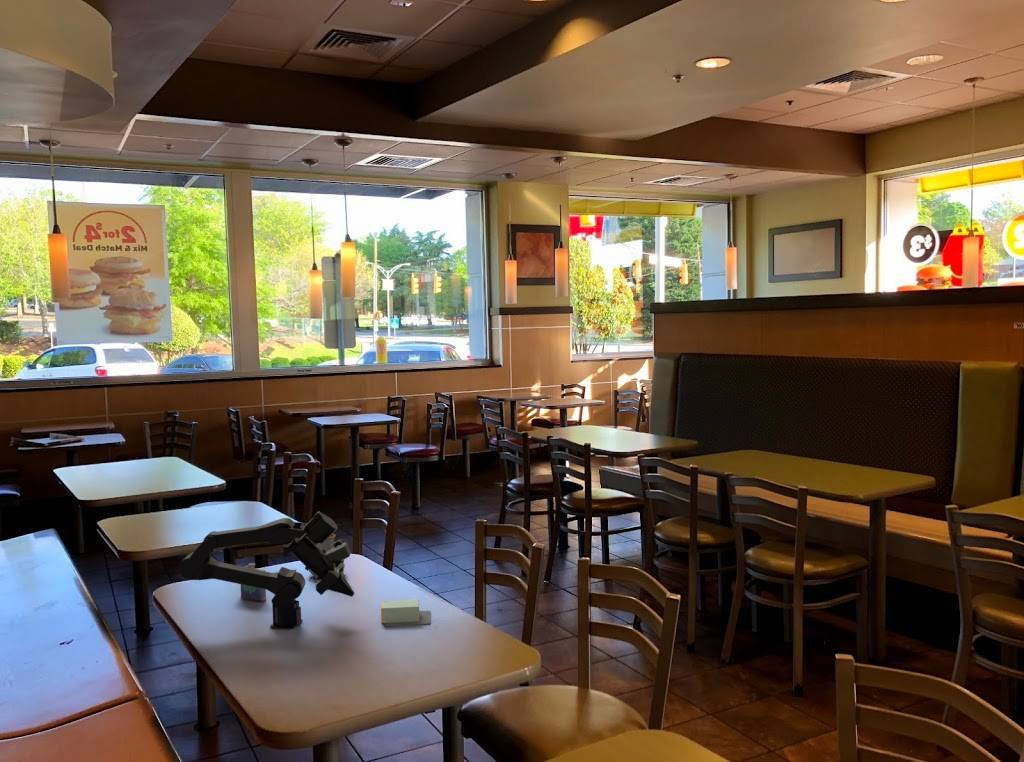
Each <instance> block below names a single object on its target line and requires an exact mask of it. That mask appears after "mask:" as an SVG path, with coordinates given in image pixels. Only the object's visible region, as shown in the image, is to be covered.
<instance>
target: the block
mask: <svg viewBox="0 0 1024 762" xmlns="http://www.w3.org/2000/svg"><path fill="white" fill-rule="evenodd" d="M380 605H381V607H380V617H381V618H380V619H381V620H380V621H381V622H380V623H381V624H385V623H393V622H413V621H419V611H420V599H419V598H418V599H417V598H416V599H401V600H400V599H399V600H397V599H396V600H382V602H381V604H380Z"/></svg>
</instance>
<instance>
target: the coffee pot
mask: <svg viewBox="0 0 1024 762" xmlns="http://www.w3.org/2000/svg"><path fill="white" fill-rule="evenodd" d="M335 538H336V534H335V533H333V534H332V535H331V536H330V537H329V538H328V539H327V540H326V541H325V542H324V543H318V544H315V545H316V546H317V547H318V548H319V549H322V548H323V549H325V550H326V551H329V550H331V549H332V548H334V543H335ZM339 540H341V541H342V542H346V543H347V544H349V543H348V540H347V539H345V538H339ZM343 566H344V568H345V566H346V565H345V561H344V562H343V563H340V564H339V566H338V567H337V568H338V569H339V570H340V569H341V568H342V567H343ZM337 568H336V569H337ZM308 572H309V573H310V574H311V576H313V577H314V578H315V579H316V578H317V576H316V575H315V574H314V573H312V572H311V571H310V570H308Z"/></svg>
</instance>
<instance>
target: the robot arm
mask: <svg viewBox="0 0 1024 762" xmlns="http://www.w3.org/2000/svg"><path fill="white" fill-rule="evenodd" d="M337 530H338V525H337V523H336V521H334V519H332V517H330V516H328V515H326V514H324V513H322V512H321V511H317V512H316V513H315V514H314V516H313V517H312V518H311V520H309V521H308V522H307V523H306V522H299V521H294V520H293V519H291V518H290V517H283V518H278V519H275V520H273V521H269V522H268V523H267V522H266V523H264V524H262V525H257V526H251V527H244V528H243V527H242V528H236V529H228V530H226V529H225V530H220V531H217V530H214V531H210V532H209V533H207V535H206V536H204V538H203V541H202V542H201V543H200V544H199V545H198V546H197V548H196V549H195V550H194V551H193V552H191V553H189V554H187V556H186V557H184V558H183V559H182V560H181V562H180V563H179V564H178V574H179V575H180V576H181V578H183V580H188V581H206V580H207V581H208V580H218V581H223V582H229V583H233V584H237V585H241V584H242V585H247V586H252V587H257V588H262V589H266V591H269V592H270V593H272V594H273V597H272V599H271V604H272V605H271V606H272V608H271V609H272V624H270V625H269V628H271V629H283V630H293V629H294V628H296V627H297V626H299V625H300V624H301V623H302V622H303V619H302V607H301V606H300V600H297V599H298V598H299V597H300V596H301V594H302V592H303V590H304V588H305V585H306V580H305V577H304V576H303V574H302V573H301V572H298V571H297V569H290V568H287V567H284V566H282V567H280V568H279V570H278V571H277V572H269V571H266V570H265V571H260V570H261V569H260V570H255V569H256V568H254V569H251V568H246V567H245V566H240V565H235V564H230V563H227V562H226V563H225V562H221V561H218V560H217V559H215V558H214V557H212V554H213V552H214V551H215V550H216V549H218V548H220V549H221V548H226V547H233V546H241V545H249V544H255V543H266V544H270V545H283V546H282V552H283V555H282V557H283V558H286V557H287V556H288V555H289V554H290V553H291V554H292V555H293V556H294V557H295V558H296V559H297V560H299V562H301V563H302V565H304V566H305V567H304V569H305V570H306V571H308V572H309V570H310V571H311V572H312V573H314V574H315V575H316V576H317V578H315V579H316V580H317V581H316V584H315V591H316V593H318V594H319V595H320V596H323V595H324V594H325V592H326V591H331V592H335V593H339V594H342V595H346V596H348V597H353V596H354V595H355V592H354V590H353V588H352V586H351V585H350V583H349V582H348V580H347V579H346V577H345V573H344V572H345V570H344V569H345V567H344V566H343V567H342V568H341V569H340V570H339V569H338V568H337V567H338V566H339V564H340V563H343V562H344V563H345V560H346V559H348V558H349V557H350V556H351V553H352V551H351V550H350V548H349V543H347V541H344V542H342V541H341V540H340V539H338V540H335V541H334V548H332V549H331V550H329V551H326V550H325V549H323V548H322V549H319V548H318V547H317V546H316V545H317V544H318V543H324V542H325V541H326V540H327V539H328V538H329V537H330V536H331V535H332V534H335V532H336V531H337ZM336 568H337V569H336Z"/></svg>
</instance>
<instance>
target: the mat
mask: <svg viewBox="0 0 1024 762" xmlns="http://www.w3.org/2000/svg"><path fill="white" fill-rule="evenodd" d="M423 624H429V625H431V610H419V621H413V622H393V623H384V627H403V626H404V627H405V626H406V625H408V626H423ZM406 627H407V626H406Z"/></svg>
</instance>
